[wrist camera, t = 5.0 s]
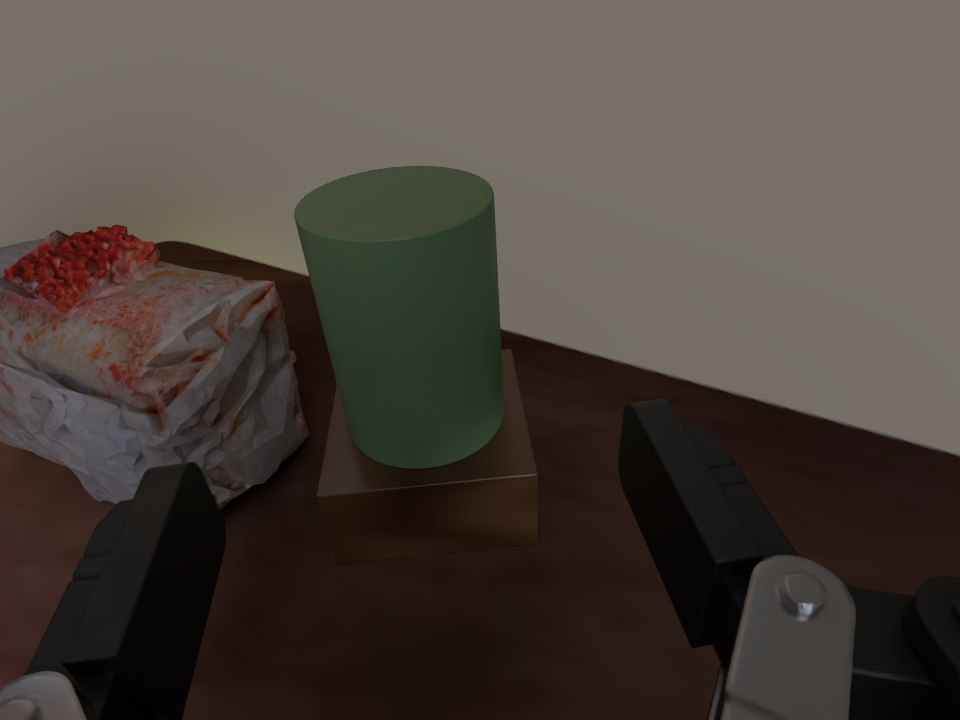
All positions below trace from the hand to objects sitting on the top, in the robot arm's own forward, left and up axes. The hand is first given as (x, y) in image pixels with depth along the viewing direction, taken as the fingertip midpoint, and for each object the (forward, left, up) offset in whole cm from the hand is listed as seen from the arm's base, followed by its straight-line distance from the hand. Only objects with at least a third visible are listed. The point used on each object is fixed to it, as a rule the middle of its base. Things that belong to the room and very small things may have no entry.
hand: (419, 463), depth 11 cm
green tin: (-6, -6, -6) cm, 10 cm away
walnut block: (-6, -6, -9) cm, 12 cm away
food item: (0, -17, -10) cm, 19 cm away
